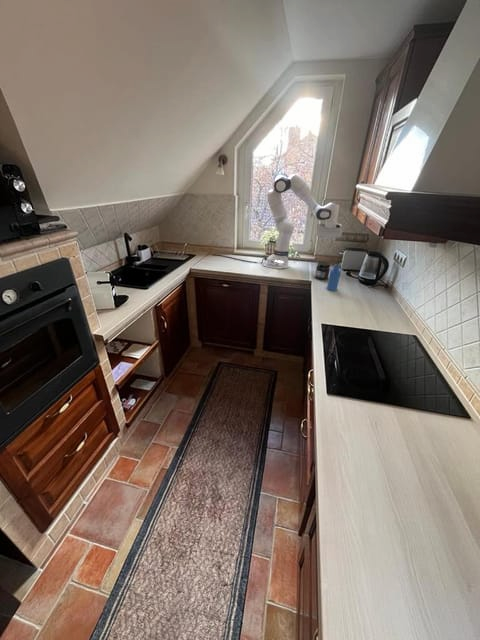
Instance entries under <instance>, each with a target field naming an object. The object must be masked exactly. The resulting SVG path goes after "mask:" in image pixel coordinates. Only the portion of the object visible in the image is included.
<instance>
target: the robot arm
mask: <svg viewBox="0 0 480 640" xmlns="http://www.w3.org/2000/svg"><path fill="white" fill-rule="evenodd" d="M289 190H291V191H292V192H293V194H294V195H295V196H296V197H297V198H298V199H300V200H301V201H303V202H305V204H306V206H307V207H308V208H309V209H310V211H311V215H312V217H313V218H314V219H317V220H318V221H324V223H318V224H316V231H315V236H317V237H320V242H322V243H323V242H324V238H323V237H327V238H328V237H329V238H333V239H331V243H334V242H335V240H336V239H337V238H341V237H342V235H343V229H342V228H343V224H341V223H340V222H338V216H339V212H340V204H338V203H337V202H333V201H331V202H328V203H327V204H325V205H323V206H322V205H321V204H318V203H317V201H316V200H315V199H314V197H313V195H312V189H311V186H310V185H309V184H308V182H307V181H306V180H305V178H303V177H302V176H301V175H300V174H299V173H292V174H291V175H290V176H289V177H288V176H287V175H286V174H284V173H279V174H277V175H276V177H274V181H273V188H272V189H270V190H269V191H268V192H267V195H266V197H267V202H268V206H269V208H270V211H271V214H272V216H273V220H274V224H275V227H276V230H277V231H278V236H277V239H276V244H275V248H274V249H273V251H272V253H271V255H269V256H265V257H264V258H262V259H261V262H260V264H263V267H267V268H272V269H276V270H281V269H287V268H289V266H290V265H289V255H290V243H291V238H292V235H293V233H294V231H295V227H294V224H293V223H292V221H290V220H289V218H288V215H287V208H286V205H285V203H284V199H283V195H282V194H283V193H286V192H287V191H289ZM211 256H216V257H217V256H218V257H225V258H229V259H233V260H238V261H242V262H248V263H254V264H258V262H256V261H249V260H245V259H240V258H235V257H232V256H228V255H221V254H213V253H212V254H211Z"/></svg>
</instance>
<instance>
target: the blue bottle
mask: <svg viewBox="0 0 480 640" xmlns="http://www.w3.org/2000/svg"><path fill="white" fill-rule="evenodd" d="M340 266H341V265H340V264H337V263H335V264H334V265H333V268H330V271H329V276H328V279H327V280H328V281H327V285H326V290H327V291H330V292H336V291H337V290H338V286H339V282H340V278H341V271H342V270H340Z"/></svg>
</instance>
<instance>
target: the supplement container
mask: <svg viewBox="0 0 480 640" xmlns="http://www.w3.org/2000/svg"><path fill="white" fill-rule="evenodd" d="M316 265H317V266H316V268H315V273H314V278H315V279H317V280H318V281H319V280H320V281H326V280H329V275H330V271H331V263H330V262H327V261H318V262H317V263H316Z"/></svg>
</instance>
